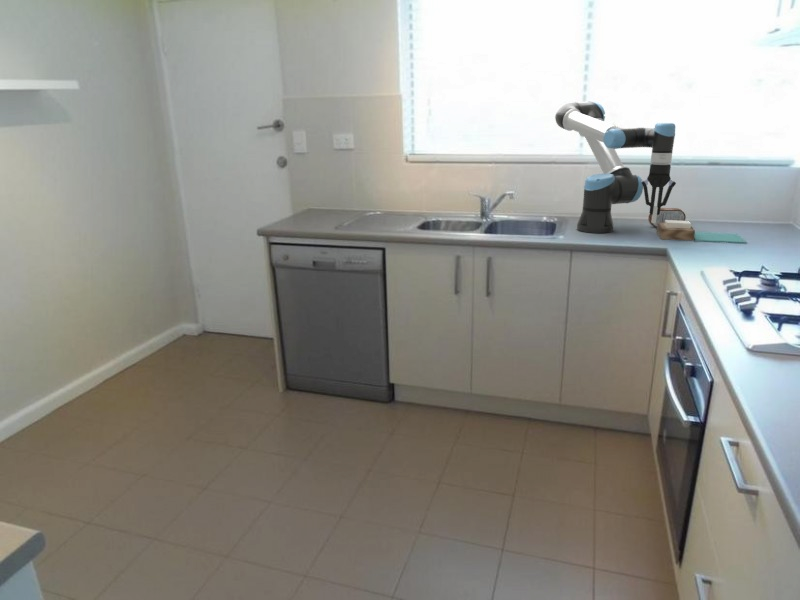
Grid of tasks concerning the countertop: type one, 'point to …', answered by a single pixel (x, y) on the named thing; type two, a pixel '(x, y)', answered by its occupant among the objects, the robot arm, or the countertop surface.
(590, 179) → the robot arm
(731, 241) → the mat
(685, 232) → the brown wooden block
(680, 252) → the countertop surface
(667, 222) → the white rectangular block
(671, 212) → the tin
